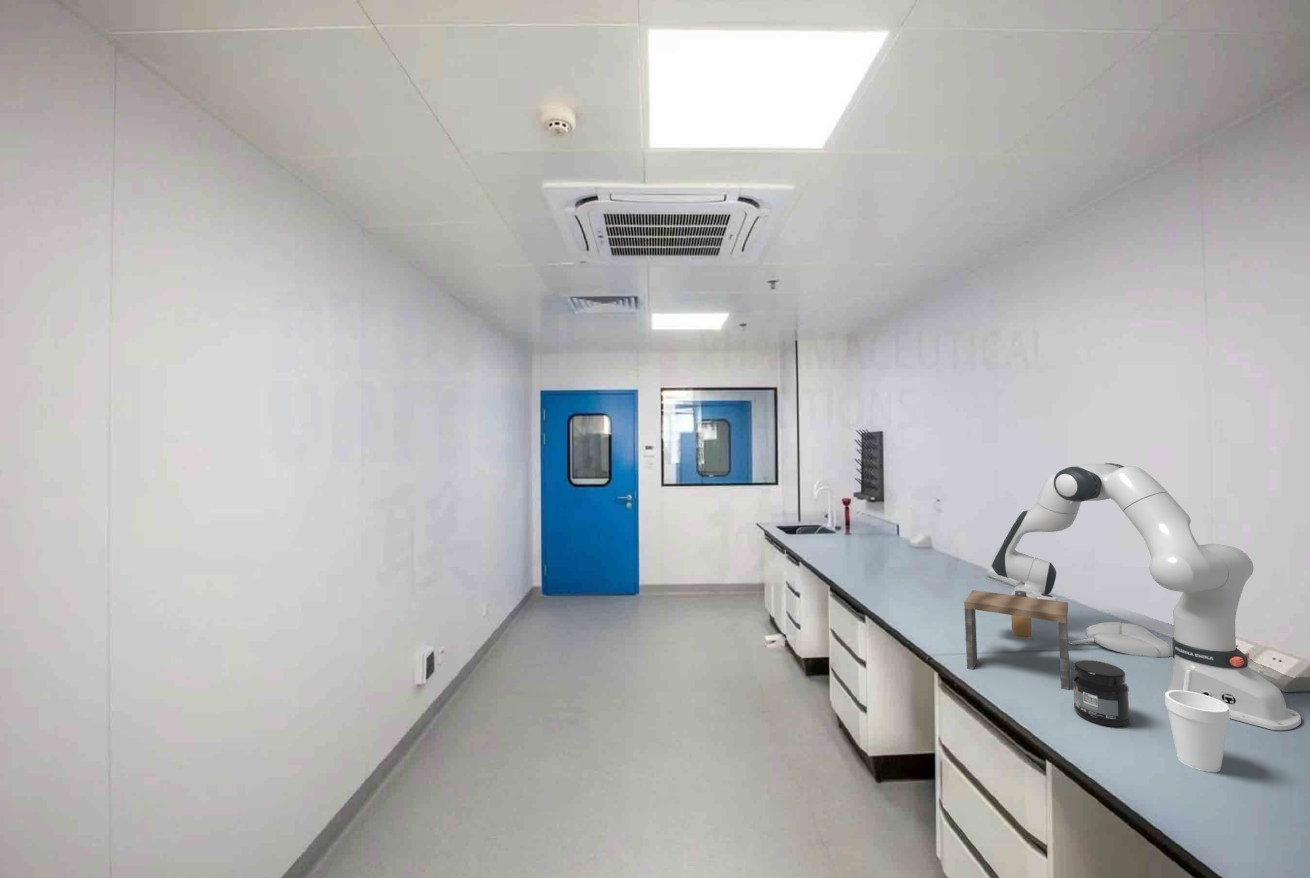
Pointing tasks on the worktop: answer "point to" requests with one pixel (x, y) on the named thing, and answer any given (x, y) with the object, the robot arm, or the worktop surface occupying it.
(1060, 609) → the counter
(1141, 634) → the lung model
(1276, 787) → the worktop surface
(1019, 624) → the amber bottle
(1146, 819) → the worktop surface
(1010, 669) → the worktop surface
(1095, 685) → the supplement container
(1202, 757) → the foam cup
